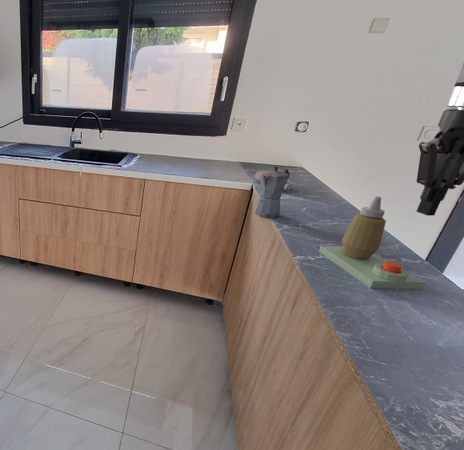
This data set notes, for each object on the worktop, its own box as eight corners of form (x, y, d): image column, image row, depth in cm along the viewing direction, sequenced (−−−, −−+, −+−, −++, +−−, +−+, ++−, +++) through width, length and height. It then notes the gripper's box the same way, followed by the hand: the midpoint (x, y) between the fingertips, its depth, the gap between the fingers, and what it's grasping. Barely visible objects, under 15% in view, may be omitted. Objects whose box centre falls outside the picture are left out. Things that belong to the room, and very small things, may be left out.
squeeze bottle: (372, 264, 86) (398, 203, 79) (335, 255, 92) (356, 197, 85) (375, 255, 91) (400, 196, 84) (340, 246, 97) (360, 191, 90)
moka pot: (244, 213, 130) (254, 166, 122) (266, 207, 136) (277, 162, 129) (266, 221, 122) (279, 171, 114) (289, 214, 129) (302, 166, 121)
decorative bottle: (252, 181, 175) (255, 170, 173) (266, 181, 175) (269, 169, 172) (280, 195, 151) (284, 182, 149) (296, 195, 151) (300, 181, 149)
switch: (391, 267, 82) (394, 261, 81) (402, 274, 79) (406, 267, 78) (378, 267, 82) (381, 260, 82) (389, 273, 79) (392, 266, 79)
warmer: (359, 252, 97) (363, 241, 96) (421, 289, 79) (428, 276, 77) (318, 252, 98) (322, 240, 97) (370, 288, 80) (376, 275, 78)
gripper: (485, 106, 68) (438, 208, 77) (420, 108, 69) (382, 208, 78) (530, 108, 61) (473, 219, 70) (456, 110, 62) (410, 219, 71)
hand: (425, 213), depth 74 cm, fingers closed
